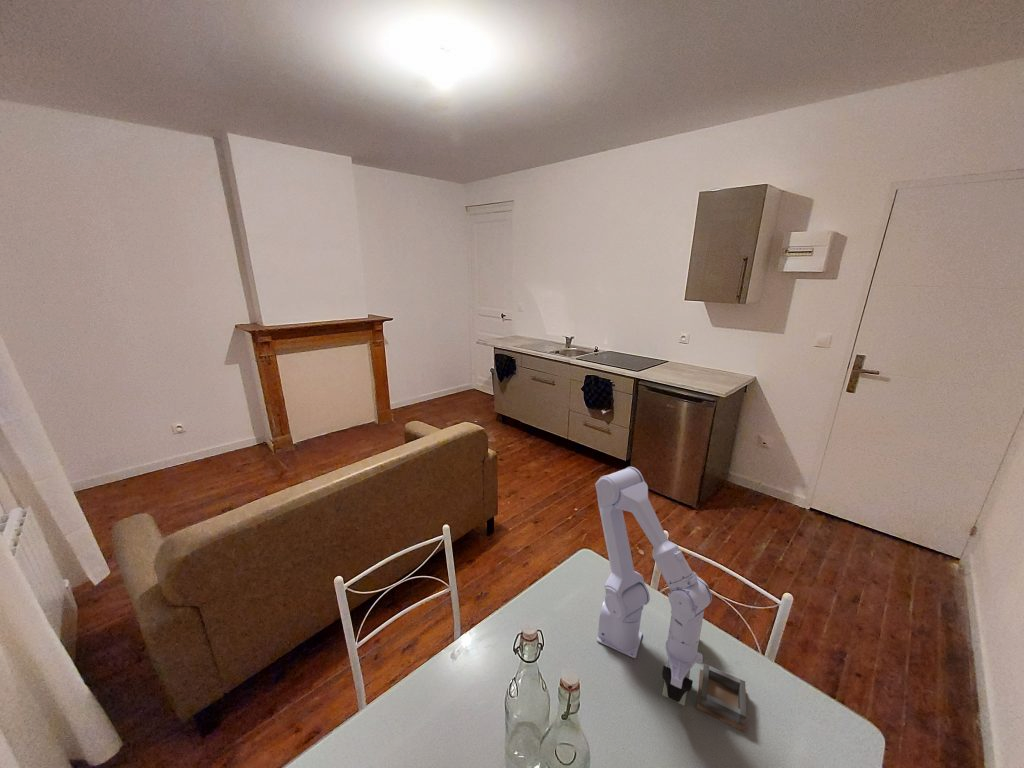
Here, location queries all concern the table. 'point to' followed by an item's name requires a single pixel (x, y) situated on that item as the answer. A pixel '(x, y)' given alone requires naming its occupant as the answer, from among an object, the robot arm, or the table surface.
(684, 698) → the peg
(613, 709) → the table surface
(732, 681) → the grey square socket
